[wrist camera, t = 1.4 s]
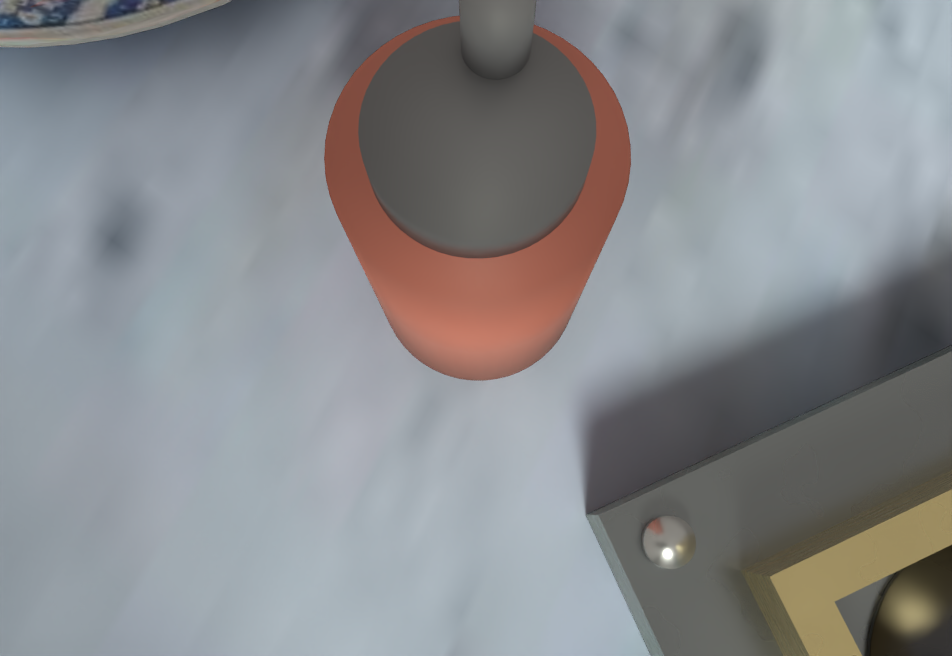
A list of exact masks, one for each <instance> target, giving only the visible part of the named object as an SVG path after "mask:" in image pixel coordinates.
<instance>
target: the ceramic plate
mask: <svg viewBox="0 0 952 656" xmlns="http://www.w3.org/2000/svg"><path fill="white" fill-rule="evenodd" d="M230 1H232V0H0V47H25V48H31V47H45V46H59V45H73V44H80V43H86V42H93V41H99V40H105V39H112V38H118V37H122V36H126V35H130V34H134V33H138V32H142V31H146V30H150V29H154V28H158V27H162V26H165V25H168V24H171V23H174V22H176V21H179V20H182V19H185V18H188V17H191V16H193V15H196V14H199V13H202V12H205V11H207V10H210V9H213V8H216V7H219V6H221V5H224V4H226V3H228V2H230Z"/></svg>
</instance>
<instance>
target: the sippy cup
mask: <svg viewBox="0 0 952 656" xmlns="http://www.w3.org/2000/svg"><path fill="white" fill-rule="evenodd" d="M535 8H536V0H459V13H460V16H453V17H448V18H443V19H439V20H434V21H431V22H428V23H425V24H422V25H420V26H417V27H414V28H412V29H410V30H408V31H406V32H404V33H402V34H400V35H398V36H396V37H395V38H393V39H392V40H390V41H389V42H387V43H386V44H384V45H383V46H381V47H380V48H379V49H378V50H377V51H375V52H374V53H373V54H372V55H371V56H370V57H368V58H367V59H366V60H365V62H364V63H363V64H362V65H361V66H360V67H359V68H358V69H357V70H356V71H355V73H354V74H353V75H352V77H351V78H350V80H349V81H348V83H347V84H346V85H345V87H344V89H343V91H342V92H341V94H340V96H339V98H338V100H337V102H336V104H335V107H334V110H333V113H332V115H331V118H330V121H329V125H328V130H327V135H326V140H325V156H324V161H325V174H326V181H327V185H328V190H329V194H330V197H331V200H332V203H333V205H334V208H335V211H336V213H337V216H338V218H339V220H340V222H341V224H342V226H343V228H344V230H345V232H346V234H347V236H348V238H349V240H350V242H351V245H352V247H353V249H354V251H355V253H356V255H357V257H358V259H359V261H360V263H361V265H362V267H363V269H364V271H365V274H366V276H367V278H368V280H369V282H370V284H371V286H372V288H373V290H374V292H375V294H376V296H377V298H378V300H379V303H380V305H381V307H382V309H383V311H384V313H385V315H386V317H387V319H388V321H389V323H390V325H391V327H392V329H393V331H394V333H395V334H396V336H397V338H398V339H399V340H400V342H401V343H402V344H403V346H404V347H405V348H406V349H407V350H408V351H409V352H410V353H411V354H412V355H413V356H414V357H415V358H417V359H418V360H419V361H420V362H422V363H423V364H425V365H426V366H428V367H430V368H431V369H433V370H435V371H438V372H440V373H442V374H445V375H448V376H451V377H455V378H459V379H466V380H491V379H498V378H502V377H506V376H510V375H512V374H515V373H517V372H520V371H522V370H524V369H526V368H528V367H529V366H531V365H533V364H534V363H535V362H537V361H538V360H540V359H541V358H542V357H543V356H544V355H545V354H546V353H547V352H549V351H550V350H551V349H552V347H553V346H554V345H555V344H556V342H557V341H558V340H559V338H560V337H561V335H562V333H563V332H564V330H565V328H566V326H567V324H568V322H569V320H570V317H571V315H572V313H573V311H574V309H575V307H576V304H577V302H578V300H579V298H580V296H581V294H582V291H583V289H584V287H585V285H586V283H587V281H588V278H589V276H590V274H591V272H592V270H593V268H594V265H595V263H596V261H597V259H598V257H599V254H600V252H601V250H602V248H603V246H604V244H605V241H606V239H607V237H608V235H609V233H610V231H611V228H612V226H613V224H614V222H615V220H616V217H617V215H618V213H619V210H620V208H621V206H622V203H623V201H624V197H625V194H626V190H627V186H628V182H629V174H630V166H631V151H630V140H629V133H628V127H627V124H626V121H625V117H624V114H623V111H622V108H621V106H620V104H619V102H618V99H617V97H616V95H615V93H614V91H613V90H612V88H611V86H610V85H609V83H608V82H607V80H606V79H605V77H604V76H603V75H602V73H601V72H600V71H599V70H598V69H597V67H596V66H595V65H594V64H593V63H592V62H591V61H590V60H589V59H588V58H587V57H586V56H585V55H584V54H583V53H582V52H580V51H579V50H578V49H577V48H576V47H574V46H573V45H571V44H570V43H568V42H567V41H566V40H564V39H563V38H561V37H559V36H557V35H555V34H554V33H552V32H550V31H548V30H546V29H544V28H541V27H539V26H536V25H534V17H535Z"/></svg>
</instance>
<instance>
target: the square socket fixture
mask: <svg viewBox="0 0 952 656" xmlns="http://www.w3.org/2000/svg"><path fill="white" fill-rule="evenodd" d="M586 517H587V519H588V521H589V523H590V525H591V528H592V530H593V532H594V534H595V536H596V538H597V540H598V543H599V545H600V547H601V549H602V551H603V553H604V556H605V558H606V560H607V562H608V564H609V566H610V568H611V571H612V573H613V575H614V577H615V579H616V581H617V584H618V586H619V588H620V590H621V592H622V594H623V596H624V599H625V601H626V603H627V605H628V607H629V609H630V612H631V614H632V616H633V618H634V620H635V622H636V624H637V627H638V629H639V631H640V633H641V635H642V637H643V640H644V642H645V644H646V646H647V648H648V650H649V653H650V655H651V656H952V345H951V346H949V347H947V348H945V349H942V350H940V351H938V352H936V353H934V354H932V355H930V356H927V357H925V358H923V359H921V360H919V361H917V362H914V363H912V364H910V365H908V366H906V367H904V368H901V369H899V370H897V371H895V372H893V373H891V374H889V375H886V376H884V377H882V378H880V379H878V380H876V381H873V382H871V383H869V384H867V385H865V386H863V387H861V388H858V389H856V390H854V391H852V392H850V393H848V394H845V395H843V396H841V397H839V398H837V399H835V400H832V401H830V402H828V403H826V404H824V405H822V406H820V407H817V408H815V409H813V410H811V411H809V412H807V413H804V414H802V415H800V416H798V417H796V418H794V419H792V420H789V421H787V422H785V423H783V424H781V425H779V426H776V427H774V428H772V429H770V430H768V431H766V432H763V433H761V434H759V435H757V436H755V437H753V438H751V439H748V440H746V441H744V442H742V443H740V444H738V445H735V446H733V447H731V448H729V449H727V450H725V451H722V452H720V453H718V454H716V455H714V456H712V457H710V458H707V459H705V460H703V461H701V462H699V463H697V464H694V465H692V466H690V467H688V468H686V469H684V470H682V471H679V472H677V473H675V474H673V475H671V476H669V477H666V478H664V479H662V480H660V481H658V482H656V483H653V484H651V485H649V486H647V487H645V488H643V489H641V490H638V491H636V492H634V493H632V494H630V495H628V496H625V497H623V498H621V499H619V500H617V501H615V502H613V503H610V504H608V505H606V506H604V507H602V508H600V509H597V510H595V511H593V512H591V513H589V514H587V515H586Z"/></svg>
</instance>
